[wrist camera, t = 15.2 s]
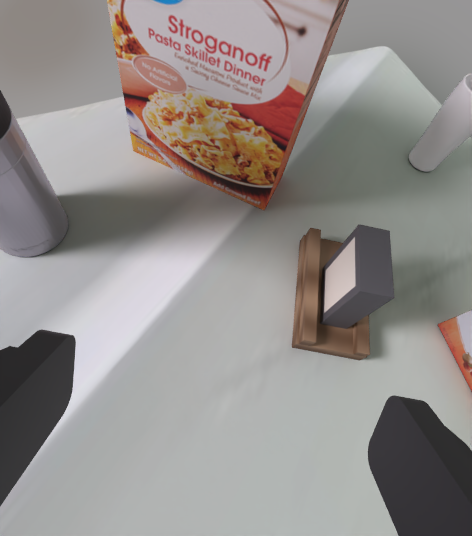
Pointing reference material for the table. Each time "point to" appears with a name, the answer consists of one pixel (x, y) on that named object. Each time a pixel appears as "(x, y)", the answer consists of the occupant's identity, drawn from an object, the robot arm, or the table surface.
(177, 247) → the table surface
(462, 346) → the cracker box
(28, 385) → the robot arm
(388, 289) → the dark grey block
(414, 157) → the drinking glass
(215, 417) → the table surface
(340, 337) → the wooden channel tray
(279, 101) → the pasta box
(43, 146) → the table surface
